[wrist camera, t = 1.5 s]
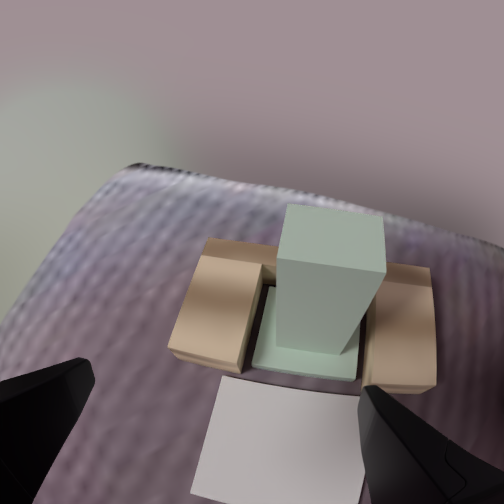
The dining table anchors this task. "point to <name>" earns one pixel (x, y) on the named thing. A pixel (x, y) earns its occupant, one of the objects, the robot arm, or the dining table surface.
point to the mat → (280, 447)
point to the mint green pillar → (321, 292)
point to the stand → (264, 271)
